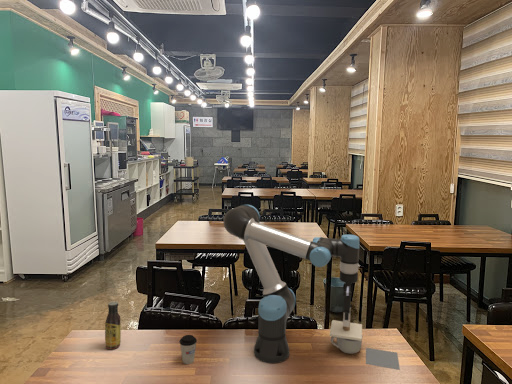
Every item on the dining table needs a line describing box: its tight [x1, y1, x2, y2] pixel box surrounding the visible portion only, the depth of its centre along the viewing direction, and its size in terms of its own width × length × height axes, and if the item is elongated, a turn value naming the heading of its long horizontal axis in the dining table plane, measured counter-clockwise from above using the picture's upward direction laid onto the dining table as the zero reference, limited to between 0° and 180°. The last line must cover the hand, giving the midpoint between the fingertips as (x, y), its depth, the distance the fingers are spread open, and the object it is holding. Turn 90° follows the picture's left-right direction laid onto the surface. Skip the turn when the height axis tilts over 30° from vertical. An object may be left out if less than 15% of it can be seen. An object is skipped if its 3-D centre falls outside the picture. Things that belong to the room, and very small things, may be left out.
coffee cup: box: [179, 334, 198, 365], centre depth 149 cm, size 7×7×10 cm
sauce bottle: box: [104, 300, 122, 350], centre depth 159 cm, size 7×6×20 cm
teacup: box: [330, 335, 363, 355], centre depth 159 cm, size 14×11×8 cm
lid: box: [329, 312, 363, 342], centre depth 158 cm, size 13×13×8 cm
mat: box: [365, 347, 401, 371], centre depth 153 cm, size 13×13×1 cm
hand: (346, 324), depth 158 cm, fingers open, 3 cm apart
